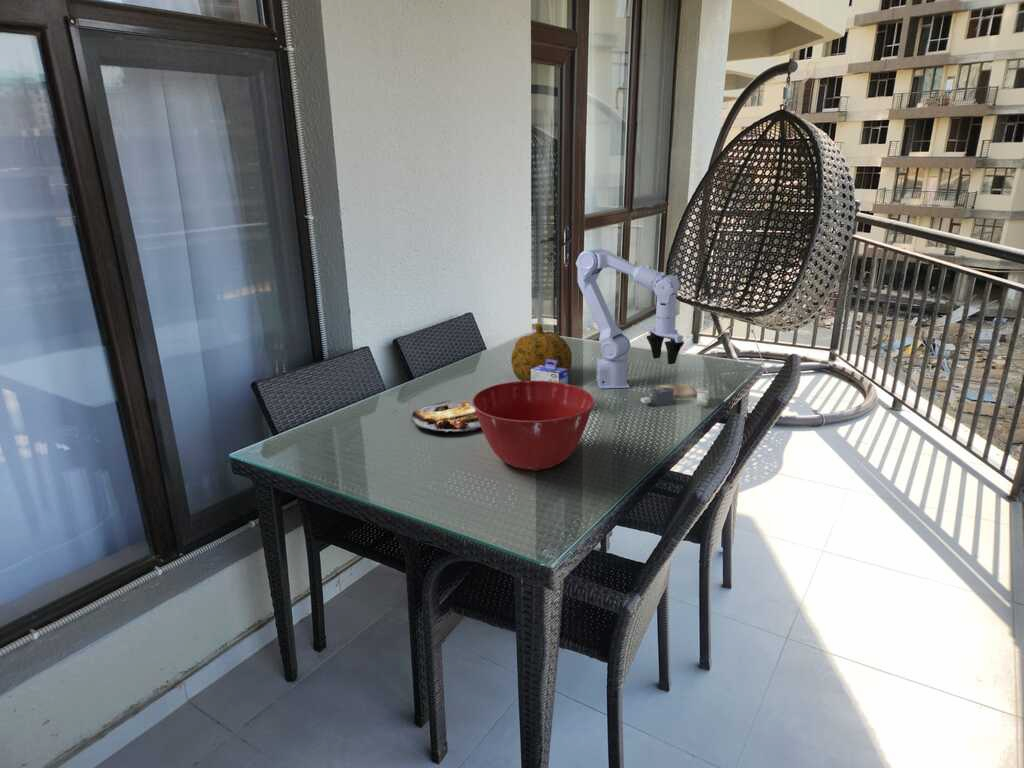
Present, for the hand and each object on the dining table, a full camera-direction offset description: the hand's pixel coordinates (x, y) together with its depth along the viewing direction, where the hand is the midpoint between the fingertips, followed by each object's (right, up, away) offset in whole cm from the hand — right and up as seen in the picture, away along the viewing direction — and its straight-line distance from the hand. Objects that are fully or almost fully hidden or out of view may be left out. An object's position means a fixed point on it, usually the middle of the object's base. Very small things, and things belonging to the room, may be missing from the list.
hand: (663, 360), depth 196 cm
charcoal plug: (-3, -13, -7) cm, 15 cm away
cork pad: (+4, -10, +3) cm, 11 cm away
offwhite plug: (+10, -13, -7) cm, 17 cm away
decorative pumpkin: (-36, -6, +19) cm, 41 cm away
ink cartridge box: (-35, -14, -8) cm, 39 cm away
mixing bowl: (-41, -25, -42) cm, 64 cm away
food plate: (-62, -18, -15) cm, 66 cm away
